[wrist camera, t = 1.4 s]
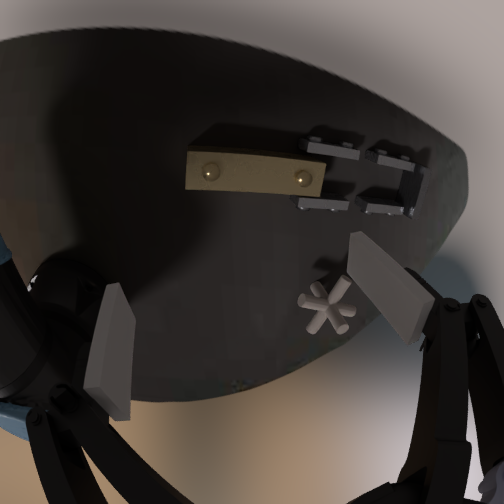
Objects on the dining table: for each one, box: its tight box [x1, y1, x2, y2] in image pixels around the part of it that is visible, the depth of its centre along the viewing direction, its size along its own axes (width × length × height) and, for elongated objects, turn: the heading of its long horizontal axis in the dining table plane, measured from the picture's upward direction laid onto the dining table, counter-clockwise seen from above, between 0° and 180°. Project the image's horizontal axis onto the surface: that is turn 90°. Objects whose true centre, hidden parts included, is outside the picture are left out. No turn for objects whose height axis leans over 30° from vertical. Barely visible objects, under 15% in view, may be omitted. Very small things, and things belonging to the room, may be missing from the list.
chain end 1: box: [355, 148, 432, 220], centre depth 35 cm, size 9×9×4 cm
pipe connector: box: [298, 275, 356, 334], centre depth 40 cm, size 10×10×10 cm
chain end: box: [290, 135, 360, 212], centre depth 33 cm, size 7×9×3 cm
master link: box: [185, 145, 326, 197], centre depth 31 cm, size 15×4×5 cm, turn 83°
